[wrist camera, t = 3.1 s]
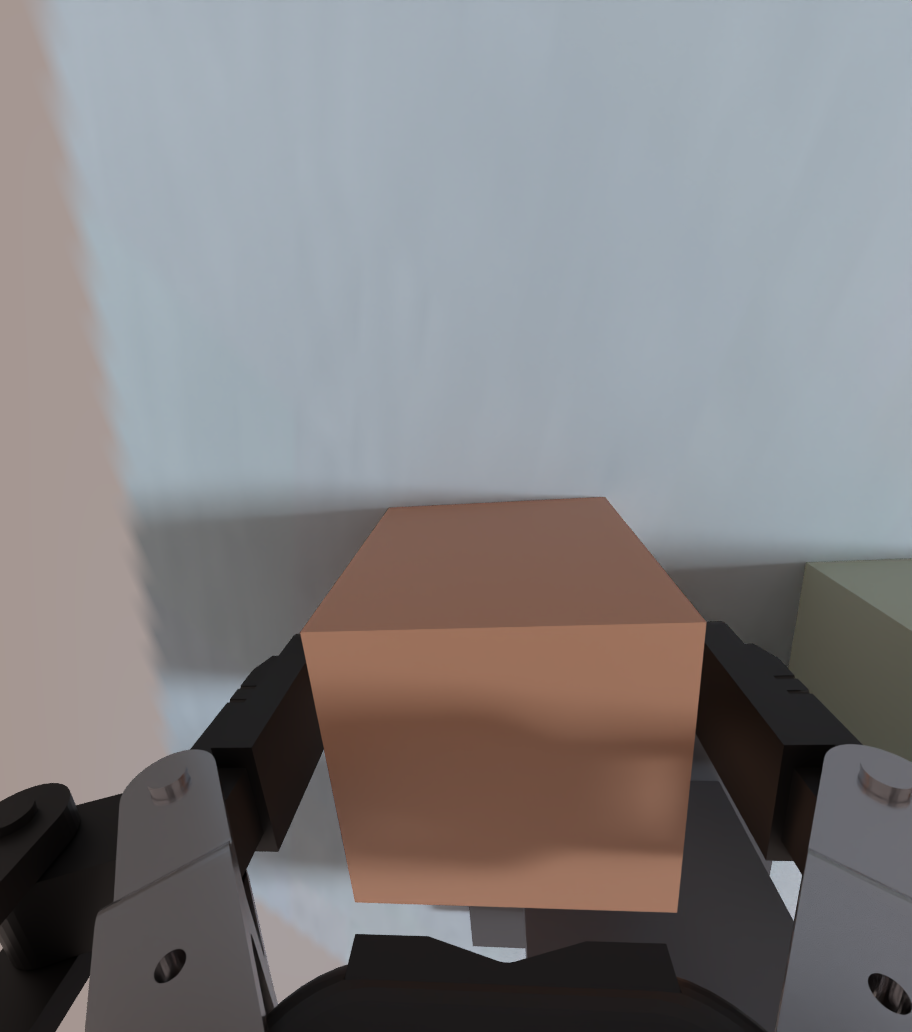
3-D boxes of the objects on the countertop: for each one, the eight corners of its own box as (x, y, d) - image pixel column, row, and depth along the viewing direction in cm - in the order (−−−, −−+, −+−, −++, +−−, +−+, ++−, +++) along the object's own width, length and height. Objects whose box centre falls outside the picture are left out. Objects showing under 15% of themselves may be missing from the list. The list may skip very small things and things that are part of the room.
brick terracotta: (389, 506, 12) (300, 632, 7) (604, 496, 12) (706, 622, 6) (411, 682, 14) (355, 902, 8) (599, 680, 13) (677, 912, 8)
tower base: (454, 705, 14) (419, 1015, 7) (774, 702, 13) (1058, 1050, 7) (474, 912, 17) (461, 1272, 10) (739, 921, 16) (913, 1323, 9)
